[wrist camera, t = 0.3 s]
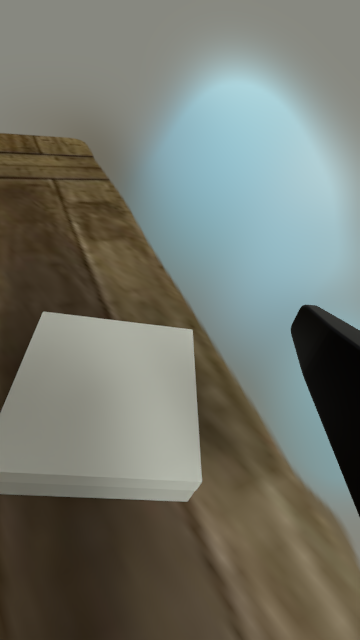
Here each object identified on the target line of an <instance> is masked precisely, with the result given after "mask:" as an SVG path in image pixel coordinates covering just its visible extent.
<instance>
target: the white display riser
mask: <svg viewBox="0 0 360 640" xmlns="http://www.w3.org/2000/svg"><path fill="white" fill-rule="evenodd" d="M201 483H202V474H201V458H200V442H199V426H198V410H197V394H196V378H195V362H194V346H193V330H191V329H183V328H174V327H166V326H158V325H150V324H141V323H133V322H125V321H117V320H109V319H100V318H92V317H84V316H76V315H67V314H59V313H51V312H43V313H42V315H41V318H40V320H39V323H38V325H37V327H36V330H35V332H34V334H33V337H32V339H31V342H30V344H29V346H28V349H27V351H26V353H25V356H24V358H23V360H22V363H21V365H20V368H19V370H18V372H17V375H16V377H15V379H14V382H13V384H12V387H11V389H10V391H9V394H8V396H7V398H6V401H5V403H4V405H3V408H2V410H1V413H0V494H12V495H36V496H61V497H86V498H110V499H135V500H159V501H184V502H188V500H189V499H190V497H191V496H192V494H193V493H194V491H196V490H197V489H198V487H199V486H200V484H201Z"/></svg>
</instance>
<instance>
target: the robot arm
mask: <svg viewBox="0 0 360 640" xmlns="http://www.w3.org/2000/svg"><path fill="white" fill-rule="evenodd" d="M291 334H292V338H293V342H294V345H295V348H296V352H297V356H298V359H299V363H300V367H301V370H302V373H303V376H304V379H305V381H306V384H307V386H308V389H309V391H310V394H311V396H312V399H313V401H314V403H315V406H316V409H317V411H318V414H319V416H320V419H321V421H322V424H323V426H324V429H325V431H326V434H327V436H328V439H329V441H330V444H331V446H332V449H333V451H334V454H335V456H336V459H337V461H338V464H339V466H340V469H341V471H342V474H343V476H344V479H345V481H346V484H347V486H348V489H349V491H350V494H351V496H352V499H353V501H354V504H355V506H356V509H357V511H358V514H359V516H360V330H358V329H356V328H354V327H353V326H351V325H349V324H348V323H345V322H344V321H342V320H341V319H339V318H337V317H335V316H334V315H332V314H330V313H328V312H327V311H325V310H323V309H321V308H320V307H318V306H315V305H303V306H302V307H301V308H300V310H299V312H298V314H297V316H296V318H295V320H294V322H293V324H292V326H291Z"/></svg>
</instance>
